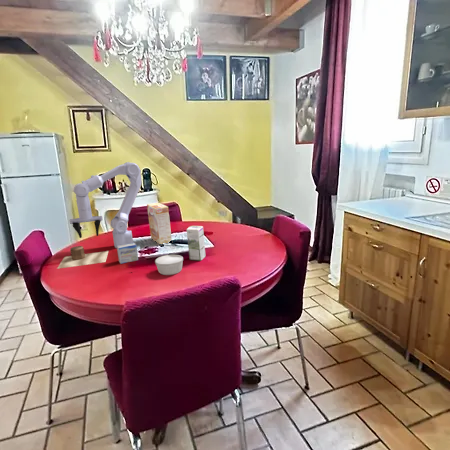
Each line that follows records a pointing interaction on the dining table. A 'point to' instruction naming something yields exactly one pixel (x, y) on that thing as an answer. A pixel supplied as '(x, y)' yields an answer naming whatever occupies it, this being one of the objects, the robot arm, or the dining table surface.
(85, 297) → the dining table surface
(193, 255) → the syrup box
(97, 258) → the post board
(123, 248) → the medicine box
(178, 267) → the ramekin
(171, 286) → the dining table surface
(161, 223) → the coffeecake box
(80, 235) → the robot arm
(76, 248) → the walnut cap
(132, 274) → the dining table surface
